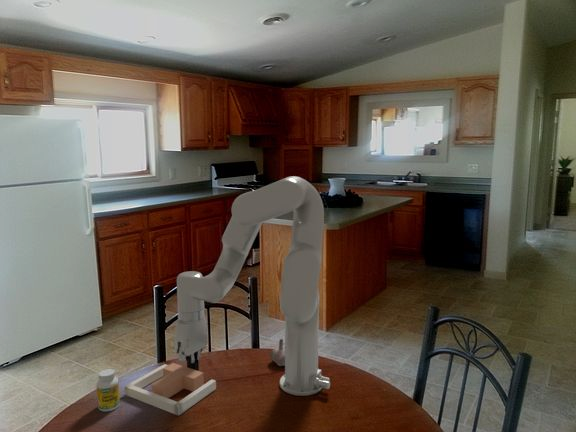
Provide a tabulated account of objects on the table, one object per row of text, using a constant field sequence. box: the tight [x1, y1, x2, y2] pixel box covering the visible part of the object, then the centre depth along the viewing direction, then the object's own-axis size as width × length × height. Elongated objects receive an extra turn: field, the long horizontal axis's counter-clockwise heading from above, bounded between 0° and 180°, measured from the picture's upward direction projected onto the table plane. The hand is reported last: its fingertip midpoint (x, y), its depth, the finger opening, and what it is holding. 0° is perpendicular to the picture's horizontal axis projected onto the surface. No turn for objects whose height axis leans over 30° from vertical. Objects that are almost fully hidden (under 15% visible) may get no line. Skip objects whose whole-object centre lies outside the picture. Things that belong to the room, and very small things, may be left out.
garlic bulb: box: [270, 338, 285, 367], centre depth 141 cm, size 8×7×8 cm
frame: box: [124, 363, 217, 417], centre depth 124 cm, size 20×15×2 cm
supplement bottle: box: [96, 368, 121, 412], centre depth 117 cm, size 5×5×10 cm
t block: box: [151, 362, 205, 399], centre depth 125 cm, size 12×12×4 cm
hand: (193, 372), depth 132 cm, fingers closed
